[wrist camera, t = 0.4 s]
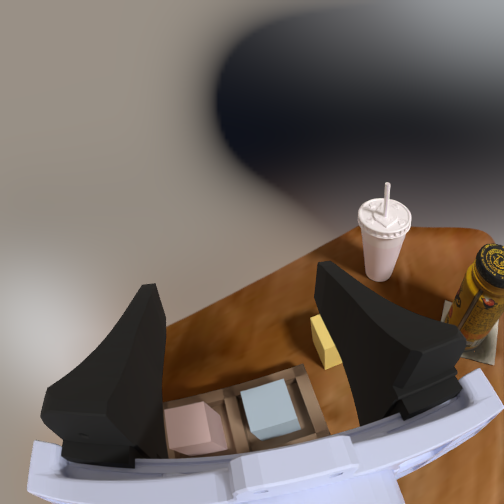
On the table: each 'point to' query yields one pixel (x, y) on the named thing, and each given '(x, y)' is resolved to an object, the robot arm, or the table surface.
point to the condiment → (479, 304)
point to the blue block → (270, 410)
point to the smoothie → (382, 234)
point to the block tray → (235, 417)
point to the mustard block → (324, 343)
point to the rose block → (195, 429)
